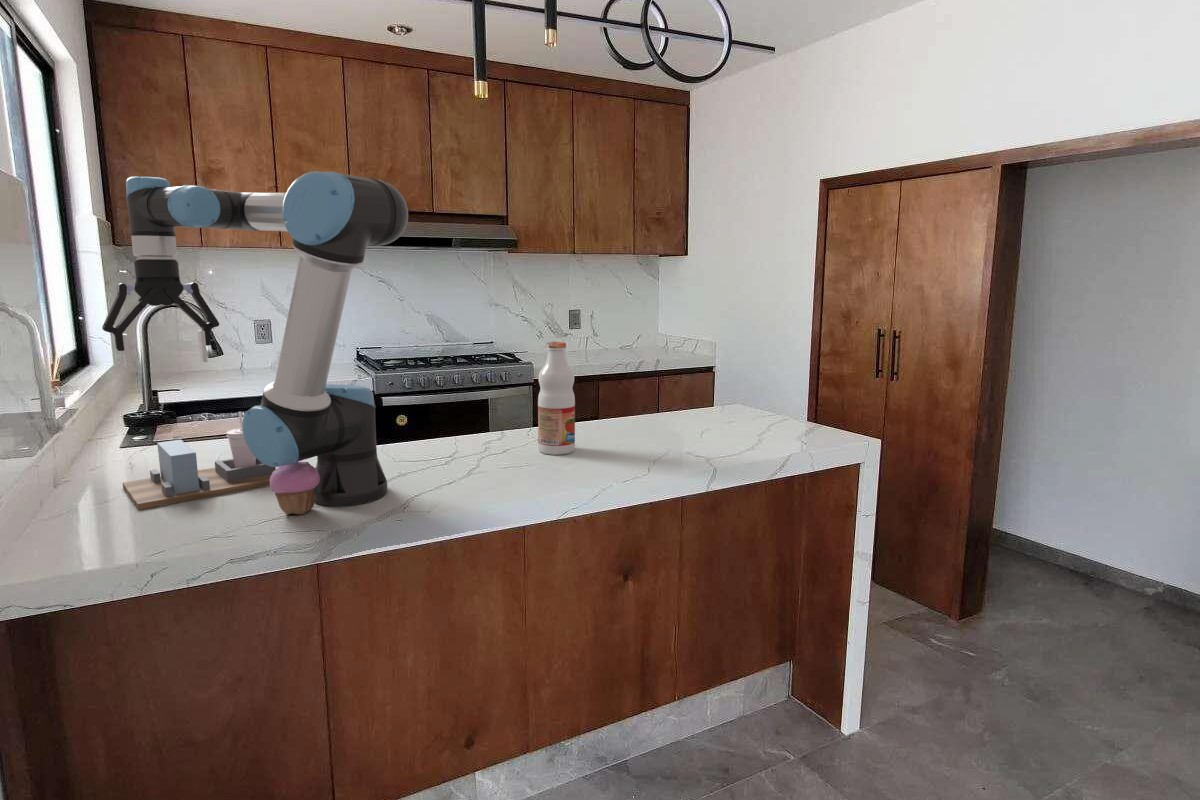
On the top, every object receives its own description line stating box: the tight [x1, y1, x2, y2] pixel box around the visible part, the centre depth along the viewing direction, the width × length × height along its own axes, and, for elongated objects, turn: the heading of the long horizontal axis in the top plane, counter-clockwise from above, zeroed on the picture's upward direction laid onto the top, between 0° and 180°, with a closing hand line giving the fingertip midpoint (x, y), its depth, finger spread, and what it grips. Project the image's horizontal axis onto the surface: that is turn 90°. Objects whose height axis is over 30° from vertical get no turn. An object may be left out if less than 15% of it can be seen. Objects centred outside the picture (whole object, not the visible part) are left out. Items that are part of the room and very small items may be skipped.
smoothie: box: [226, 411, 256, 468], centre depth 159 cm, size 6×6×14 cm
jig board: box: [121, 467, 271, 511], centre depth 156 cm, size 18×28×1 cm, turn 131°
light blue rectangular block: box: [157, 439, 200, 494], centre depth 151 cm, size 14×4×8 cm, turn 41°
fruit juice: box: [537, 341, 576, 456], centre depth 184 cm, size 9×9×28 cm
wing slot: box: [149, 468, 210, 497], centre depth 152 cm, size 16×8×2 cm, turn 41°
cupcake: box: [269, 461, 320, 515], centre depth 138 cm, size 9×9×10 cm
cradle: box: [214, 458, 277, 482], centre depth 160 cm, size 10×10×2 cm
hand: (167, 364), depth 147 cm, fingers open, 13 cm apart
